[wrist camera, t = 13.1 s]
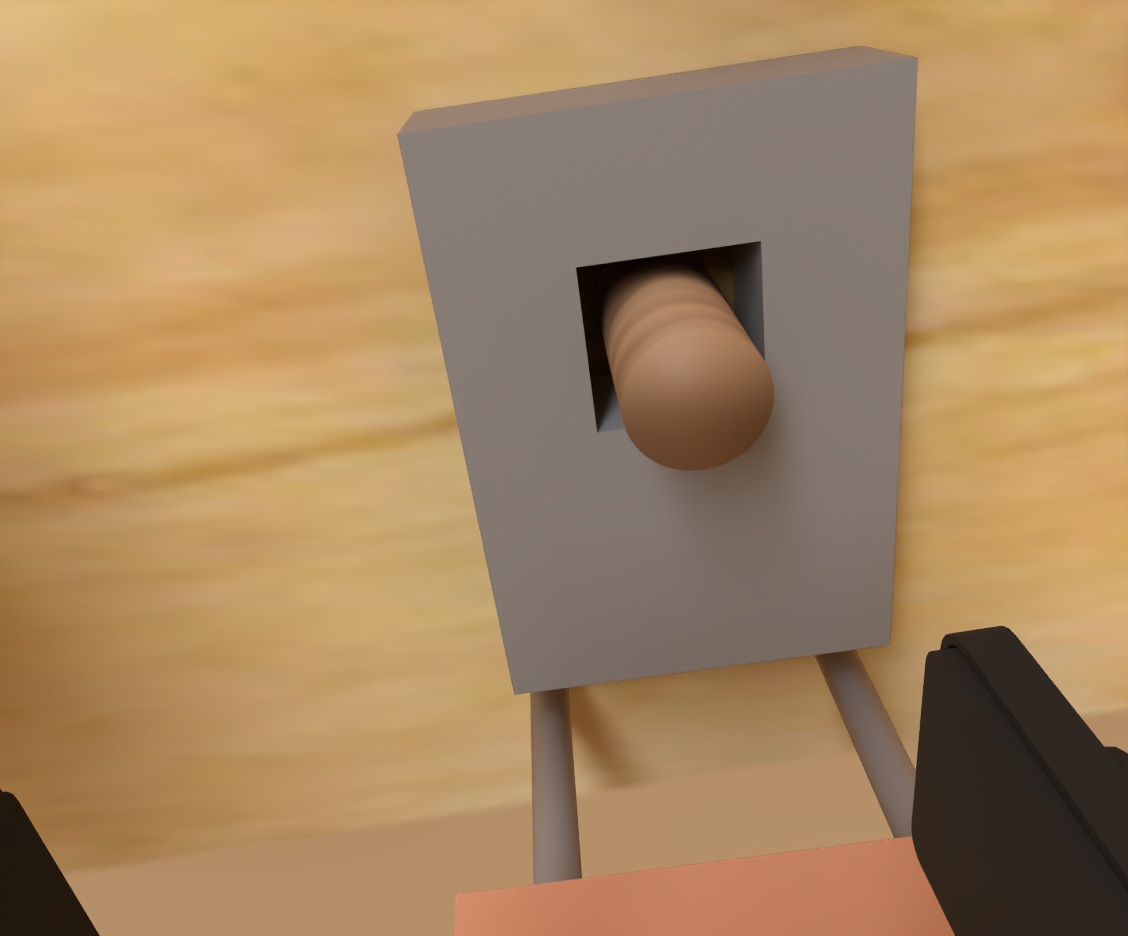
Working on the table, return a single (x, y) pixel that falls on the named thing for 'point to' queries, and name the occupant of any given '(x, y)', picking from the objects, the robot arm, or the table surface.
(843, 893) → the pink topped stand
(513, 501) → the socket block
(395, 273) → the table surface
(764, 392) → the walnut peg
